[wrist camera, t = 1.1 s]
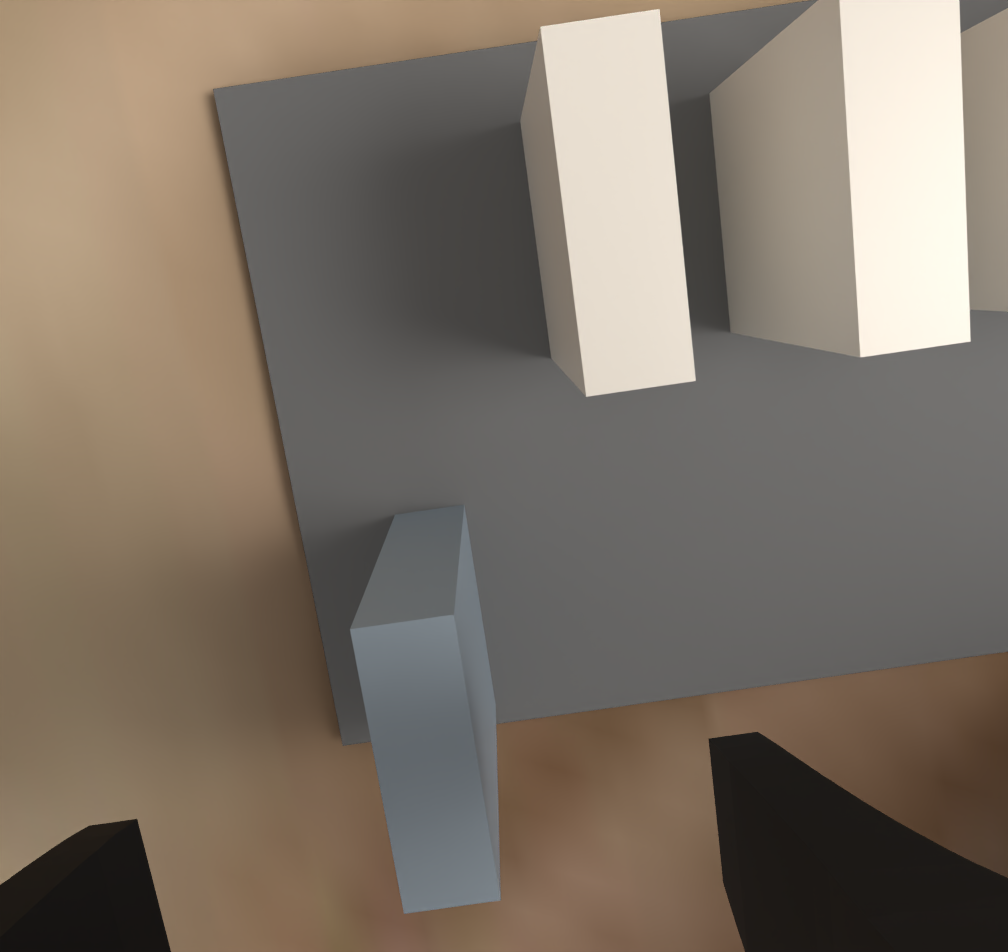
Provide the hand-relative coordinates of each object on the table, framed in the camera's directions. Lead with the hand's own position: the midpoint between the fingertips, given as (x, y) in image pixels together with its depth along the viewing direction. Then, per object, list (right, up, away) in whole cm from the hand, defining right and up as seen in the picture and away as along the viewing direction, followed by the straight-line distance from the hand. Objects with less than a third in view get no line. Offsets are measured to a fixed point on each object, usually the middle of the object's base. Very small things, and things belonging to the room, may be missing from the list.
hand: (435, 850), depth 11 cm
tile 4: (+2, +10, +8) cm, 13 cm away
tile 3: (+6, +10, +8) cm, 15 cm away
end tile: (0, +1, +10) cm, 10 cm away
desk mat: (+7, +7, +9) cm, 13 cm away
